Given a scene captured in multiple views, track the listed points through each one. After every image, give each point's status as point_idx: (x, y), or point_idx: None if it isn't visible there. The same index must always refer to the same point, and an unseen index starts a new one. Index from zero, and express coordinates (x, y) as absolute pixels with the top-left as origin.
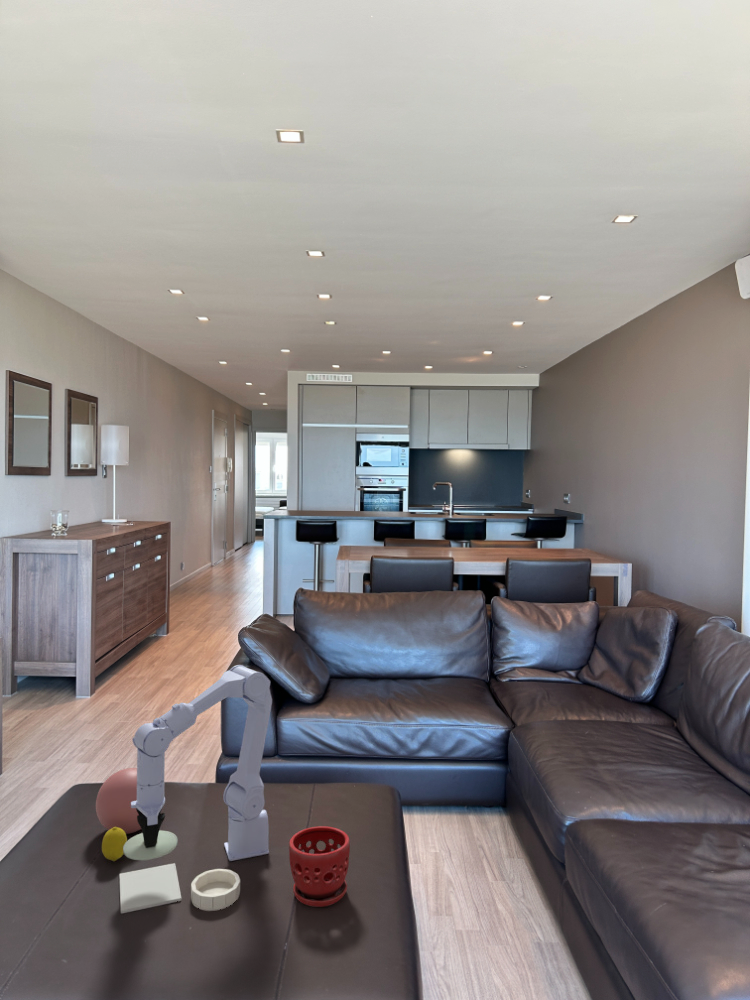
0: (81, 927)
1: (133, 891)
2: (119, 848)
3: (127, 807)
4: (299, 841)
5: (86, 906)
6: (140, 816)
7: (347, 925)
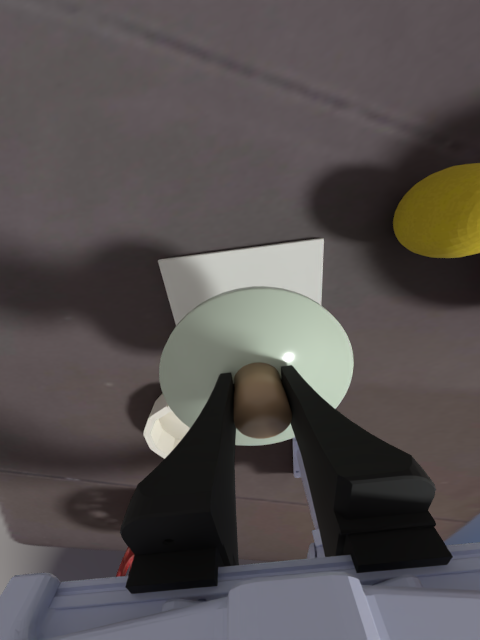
0: (109, 161)
1: (231, 282)
2: (407, 236)
3: None
4: None
5: (203, 160)
6: (189, 525)
7: (113, 522)
